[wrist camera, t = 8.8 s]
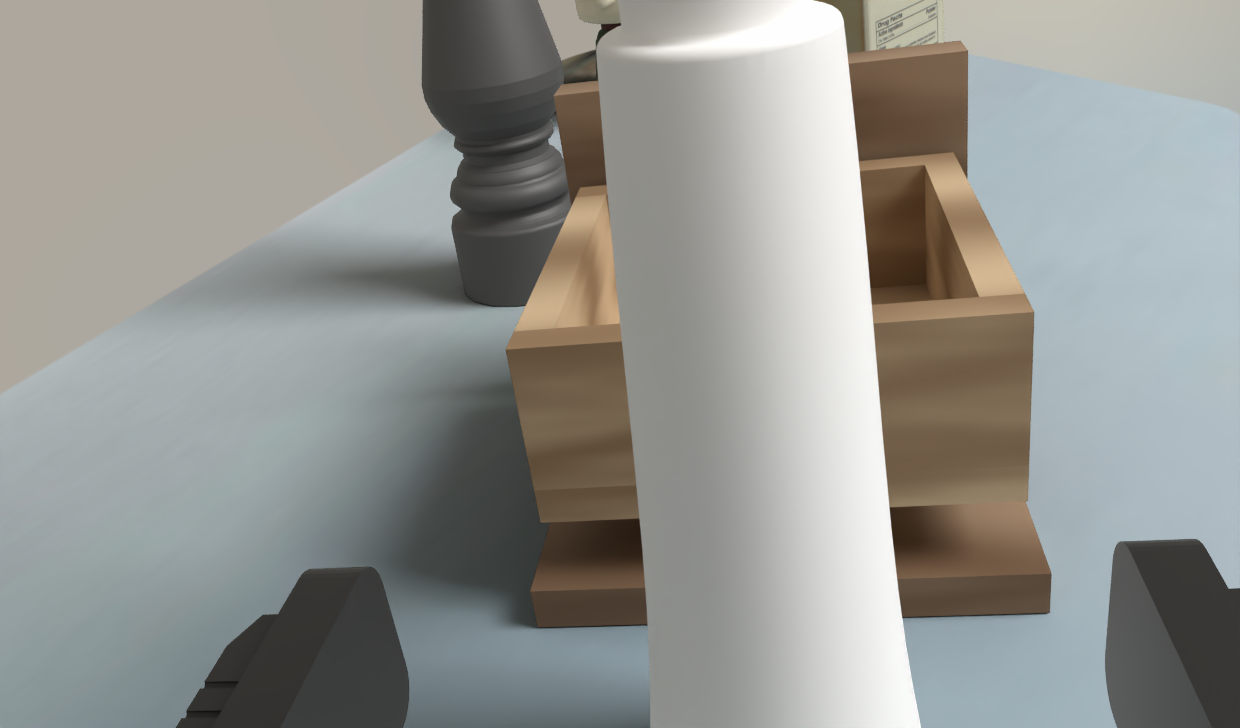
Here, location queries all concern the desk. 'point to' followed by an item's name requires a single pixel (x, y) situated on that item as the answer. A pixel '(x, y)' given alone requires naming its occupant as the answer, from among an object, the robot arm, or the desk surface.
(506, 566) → the desk surface
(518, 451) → the desk surface
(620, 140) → the cosmetic bottle
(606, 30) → the character mug
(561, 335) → the wooden box caddy
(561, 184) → the candle holder
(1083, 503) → the desk surface
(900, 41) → the skincare box
